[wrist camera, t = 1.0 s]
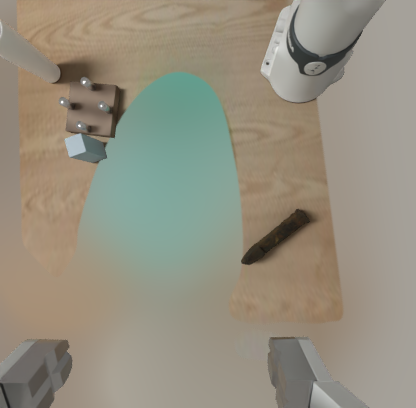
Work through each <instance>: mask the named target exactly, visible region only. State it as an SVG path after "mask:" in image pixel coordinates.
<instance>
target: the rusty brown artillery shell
mask: <svg viewBox="0 0 416 408" xmlns="http://www.w3.org/2000/svg"><path fill="white" fill-rule="evenodd" d="M309 222H310V221H309V219H308V218H307V216H306V215H305V214H304V213H303V212H302V211H300V210H299V209H296V211H295V213H293V214H291V216H290V217H289V218H287V219H286V220H284V221H283V222H282V223H281V224H280V225H279V226H278V227H276V228H275V229H274V230H273V231H271V232H270V233H269V234H268V235H266V236H265V237H264V238H263V239H262V240H260V241H259V242H258V243H256V244H254V245H253V246H252V247H251V248H250V249H249V250H248V252H247V253H246V254H245V255H244V257H243V258H242V260H241V262H242V264H245V265H246V264H247V265H251V264H252V263H254V262H255V261H257V260H258V259H260V258H262V257H263V256H264V255H265V253H267V252H268V251H269V250H270V249H272V248H273V247H274V246H276V245H277V244H278V243H280V242H281V241H282V240H284V239H285V238H286V237H288V236H289V235H290V234H292V233H293V232H294V231H296V230H297V229H298V228H299V227H301V226H302V225H303V224H305V223H309Z"/></svg>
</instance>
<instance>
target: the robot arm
mask: <svg viewBox="0 0 416 408" xmlns="http://www.w3.org/2000/svg"><path fill="white" fill-rule="evenodd" d="M385 1H386V0H294V1H293V4H292V5H290V6H287V7H286V8H284V9H282V11H281V13H280V15H279V18H278V21H277V23H276V26H275V29H274V32H273V35H272V38H271V41H270V43H269V46H268V49H267V52H266V55H265V58H264V60H263V63H262V66H261V69H260V71H261V74H262V75H263V76H264V77H265V78H267V79H268V80H269V81H270V83H271V85H272V87H273V89H274V91H275V92H276V93H277V94H278V95H279V96H280V97H282V98H283V99H285V100H287V101H290V102H297V103H301V102H307V101H310V100H312V99H314V98H316V97H318V96H319V95H320V94H321V93H323V92H324V91H325V89H326V88H327V87H328V86H329V85H330V84H333V83H335V82H336V81H338V80H339V79H341V78H342V76H343V75H344V66H345V64H346V63H347V62H348V60H349V59H350V57H351V56H352V54H353V51H352V48H353V47H354V45H355V44H356V42H357V40H358V39H359V37H360V36H361V34H362V31H363V29H364V27H365V26H366V25H367V24H368V23H369V21H370V20H371V19H372V17H373V16H374V15H375V13H376V12H377V11H378V10H379V8H380V7H381V6H382V5H383V3H384V2H385ZM267 63H268V64H269V65H266V64H267ZM268 345H269V348H270V352H269V353H268V370H269V375H270V379H271V383H272V385H273V386H274V387H275V388H276V401H277V405H278V408H369V407H368V406H367V405H366V404H365V403H363V402H362V401H361V400H360V399H358V398H357V397H356V396H355V395H354V394H353V393H352V392H350V391H349V390H348V389H347V388H346V387H344V386H343V385H342V384H341V383H340V382H338V381H334V380H333V379H332V377H331V375H330V374H329V372H328V370H327V368H326V366H325V365H324V363H323V361H322V359H321V357H320V356H319V354H318V352H317V350H316V348H315V347H314V345H313V343H312V341H311V340H310V339H309V338H308V337H270V339H269V344H268ZM68 348H69V344H68V341H67V340H47V339H27V340H26V341H24V342H22V343H21V344H20V345H19V346H18V347H17V348H16V349H15V350H14V351H13V352H12V353H11V354H10V355H9V356H8V357H7V358H6V359H5V360H4V361H3V362H2V363H1V364H0V408H49V407H50V406H51V404H52V402H53V401H54V395H55V392H56V391H57V390H58V389H59V388H61V387H62V386H63V385H64V383H65V382H66V380H67V378H68V376H69V374H70V371H71V368H72V357H71V355H70V354H69V353H68V352H67V350H68Z"/></svg>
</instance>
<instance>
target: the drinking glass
mask: <svg viewBox="0 0 416 408" xmlns="http://www.w3.org/2000/svg"><path fill="white" fill-rule="evenodd" d="M0 57H2V58H4V59H5V60H7V61H9V62H11V63H13V64H15V65H17V66H19V67H21V68H23V69H25V70H27V71H29V72H30V73H32V74H34V75H36V76H38V77H40V78H42V79H43V80H45V81H47V82H49V83H55V82H57V81H58V80H59V78H60V74H61V73H60V69H59V67H58V66H57V65H56V64H55V63H54V62H52V61H51V60H50V59H48V58H47V57H46V56H45V55H44V54H43V53H42V52H40V51H39V50H38V49H37V48H36V47H35V46H33V45H32V44H31V43H30V42H29V41H28V40H27V39H25V38H24V37H23V36H22V35H21V34H20V33H18V32H17V31H16V30H15V29H13V28H12V27H11V26H9V25H8V24H7V23H5V22H4V21H3V20H1V19H0Z"/></svg>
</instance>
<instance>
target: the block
mask: <svg viewBox="0 0 416 408" xmlns="http://www.w3.org/2000/svg"><path fill="white" fill-rule="evenodd" d="M64 140H65V143H66V147H67V150H68V154H69V157H70V158H75V159H79V160H83V161H87V162H91V163H94V162H97V161H100V160H103V159H105V158H107V155H106V152H105V149H104V145H103V142H101V141H99V140H96V139H94V138H91V137H89V136H87V135H84V134H82V133H79V134H77V135H74V136H71V137H69V138H66V139H64Z"/></svg>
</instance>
